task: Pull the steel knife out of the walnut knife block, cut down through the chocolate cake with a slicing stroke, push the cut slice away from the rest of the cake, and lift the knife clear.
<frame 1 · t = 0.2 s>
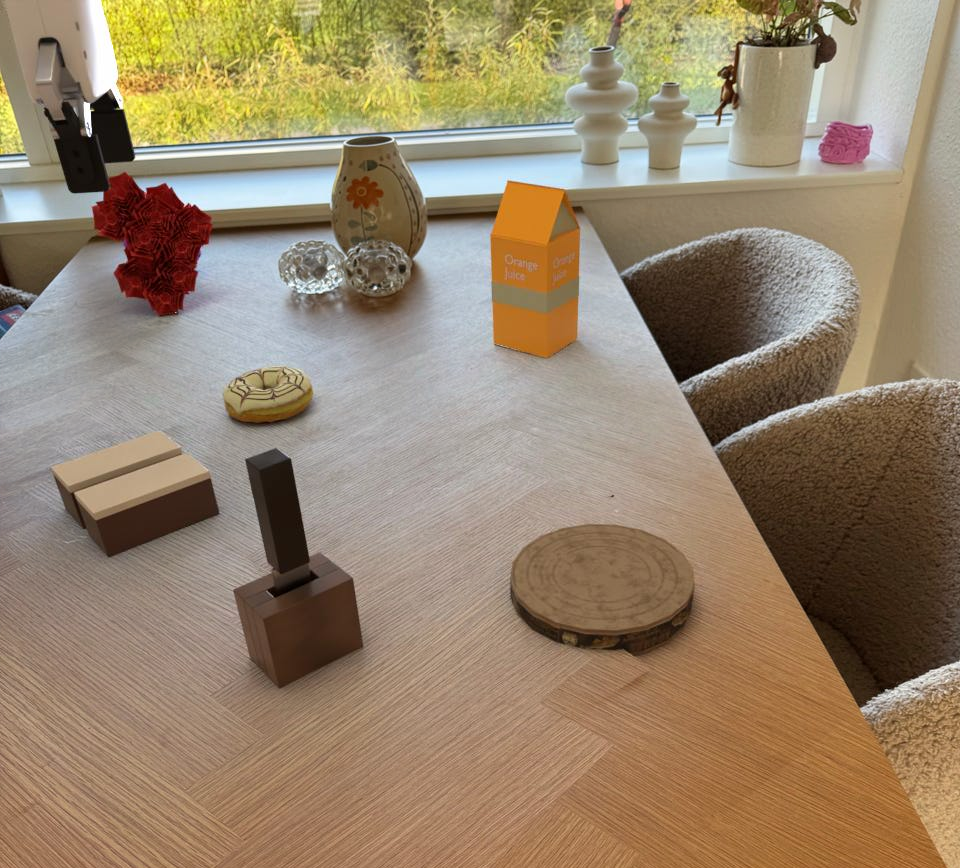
hand: (104, 175, 80), 32 cm above the table, tool pointing down, fingers open, 9 cm apart
bouquet: (164, 285, 154), on the table
cake: (129, 498, 102), on the table
wood slice coaster: (600, 602, 85), on the table
knife: (306, 651, 79), point 1 cm above the table, touching knife block
cake slice: (155, 524, 98), on the table
knife block: (308, 660, 80), on the table
orange juice: (535, 343, 130), on the table
decorated donut: (271, 409, 118), on the table
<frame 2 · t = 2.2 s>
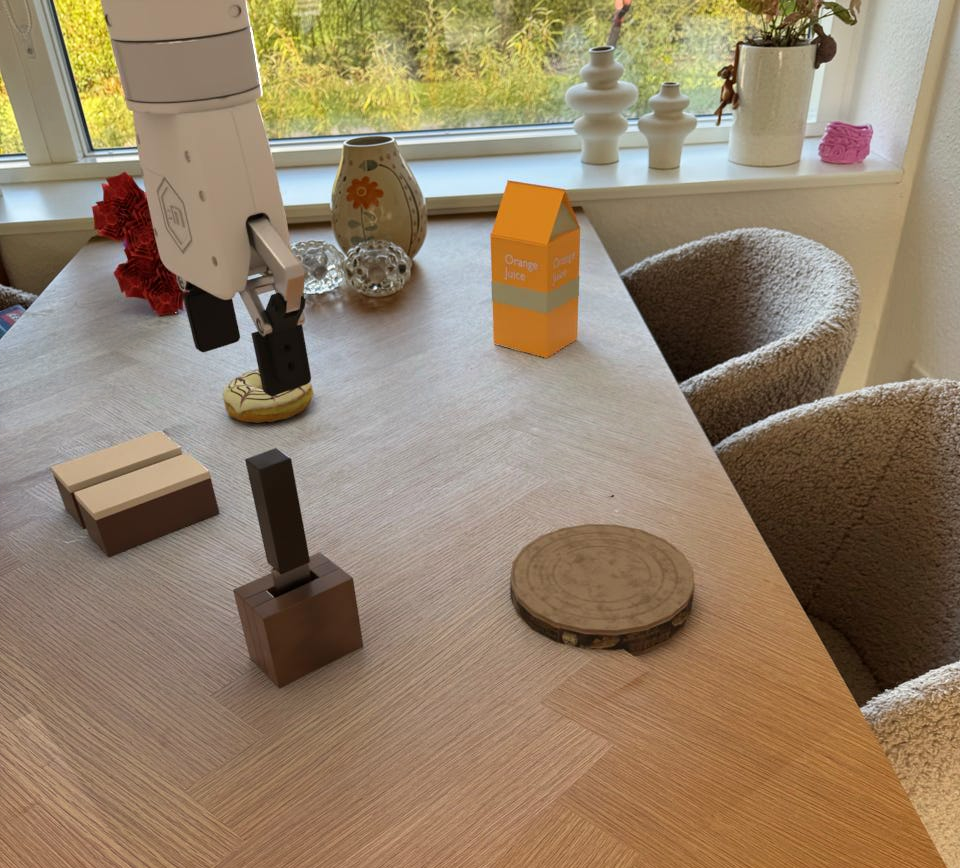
hand: (251, 366, 64), 26 cm above the table, tool pointing down, fingers open, 9 cm apart
nothing on the table moved.
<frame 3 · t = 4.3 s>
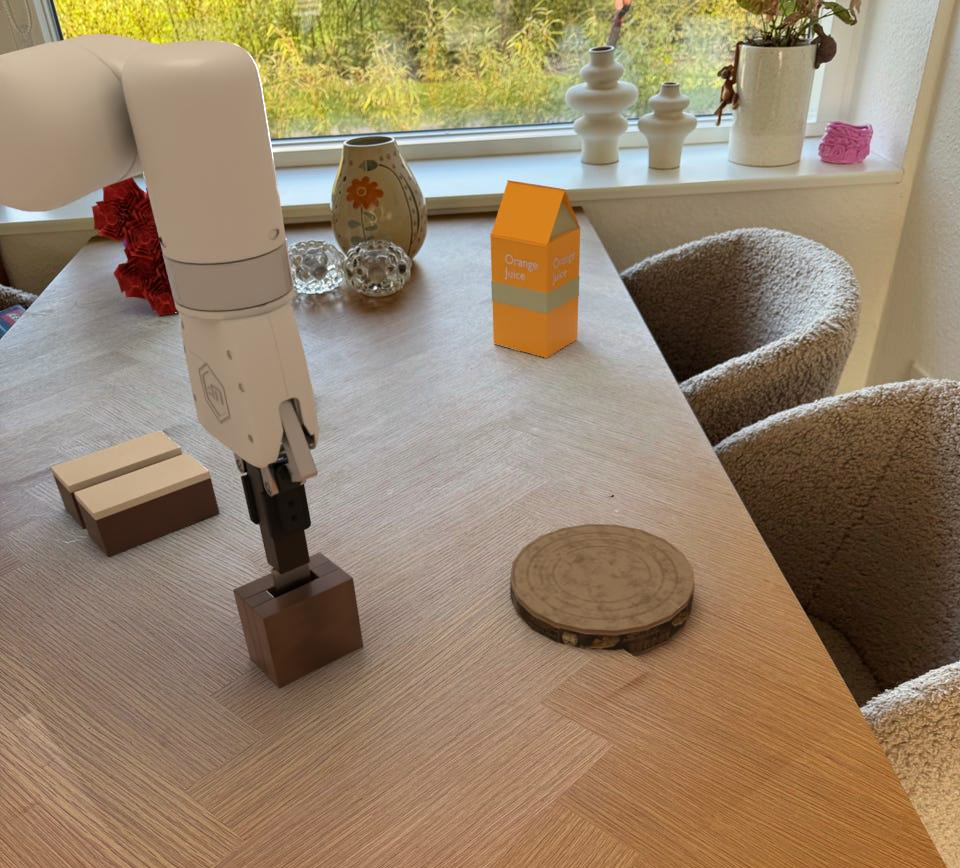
hand: (280, 523, 71), 14 cm above the table, tool pointing down, fingers closed on knife, 2 cm apart
knife: (306, 651, 79), point 1 cm above the table, touching gripper, knife block
everything else where it was.
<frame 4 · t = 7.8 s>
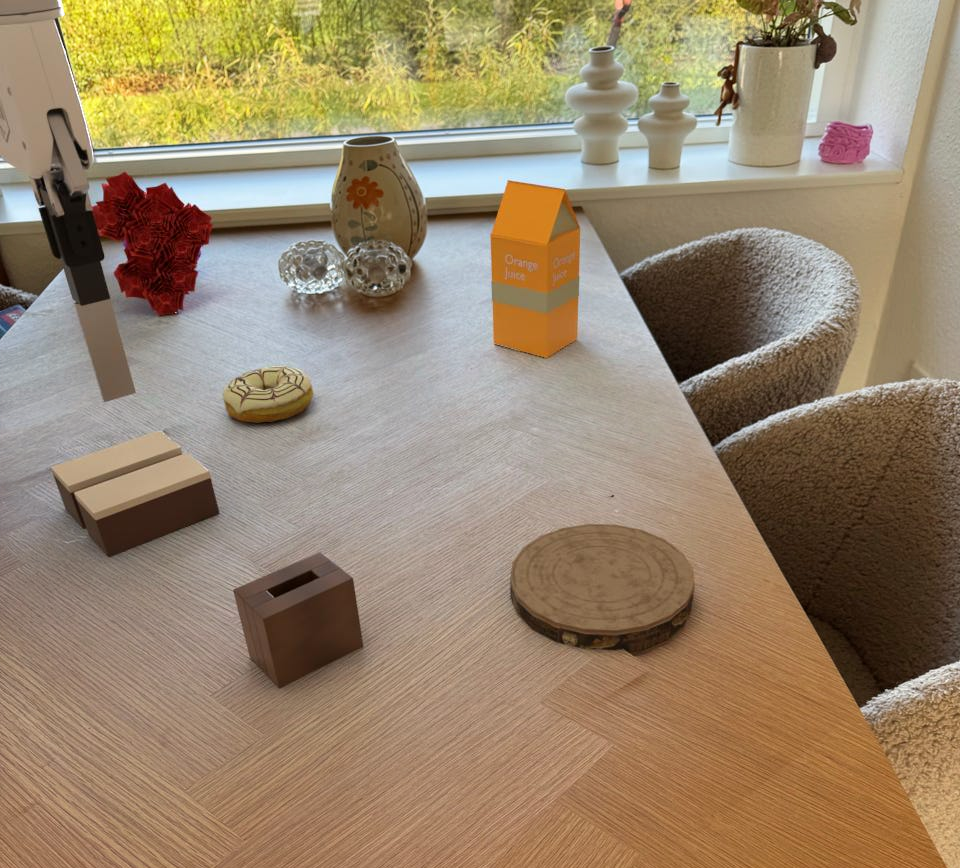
hand: (78, 257, 80), 27 cm above the table, tool pointing down, fingers closed on knife
knife: (119, 397, 88), point 14 cm above the table, touching gripper
everything else where it was.
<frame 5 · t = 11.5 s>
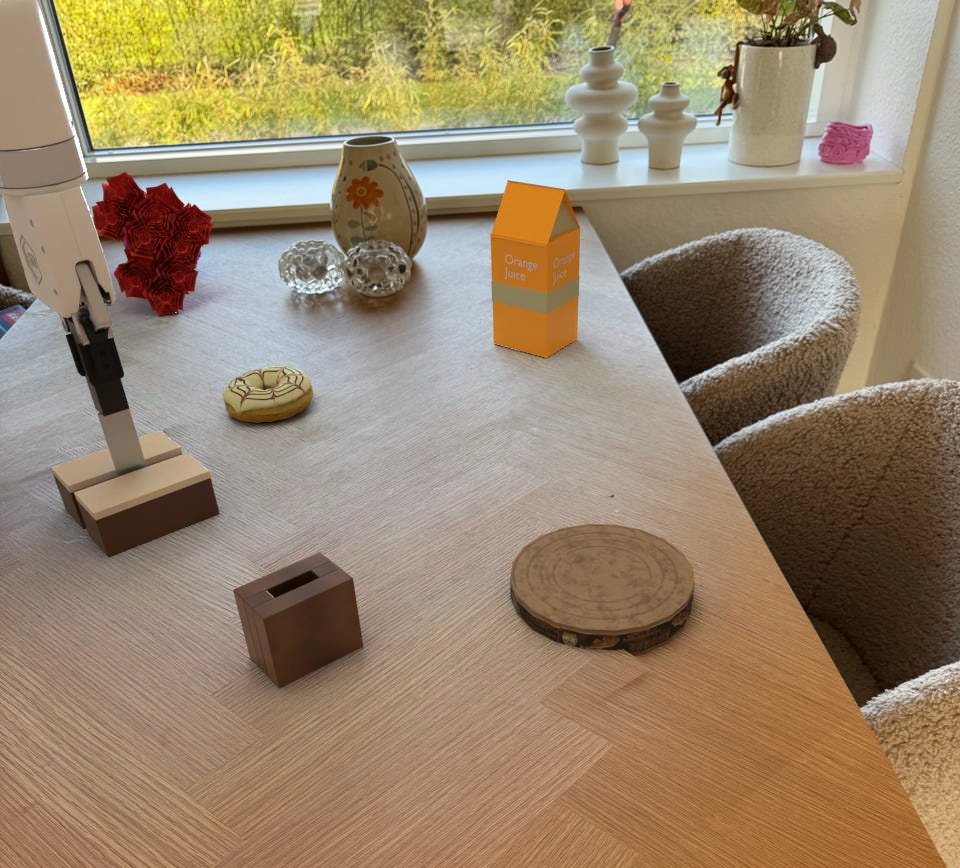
hand: (101, 374, 90), 15 cm above the table, tool pointing down, fingers closed on knife, 2 cm apart
knife: (138, 490, 98), point 2 cm above the table, touching gripper
everything else where it was.
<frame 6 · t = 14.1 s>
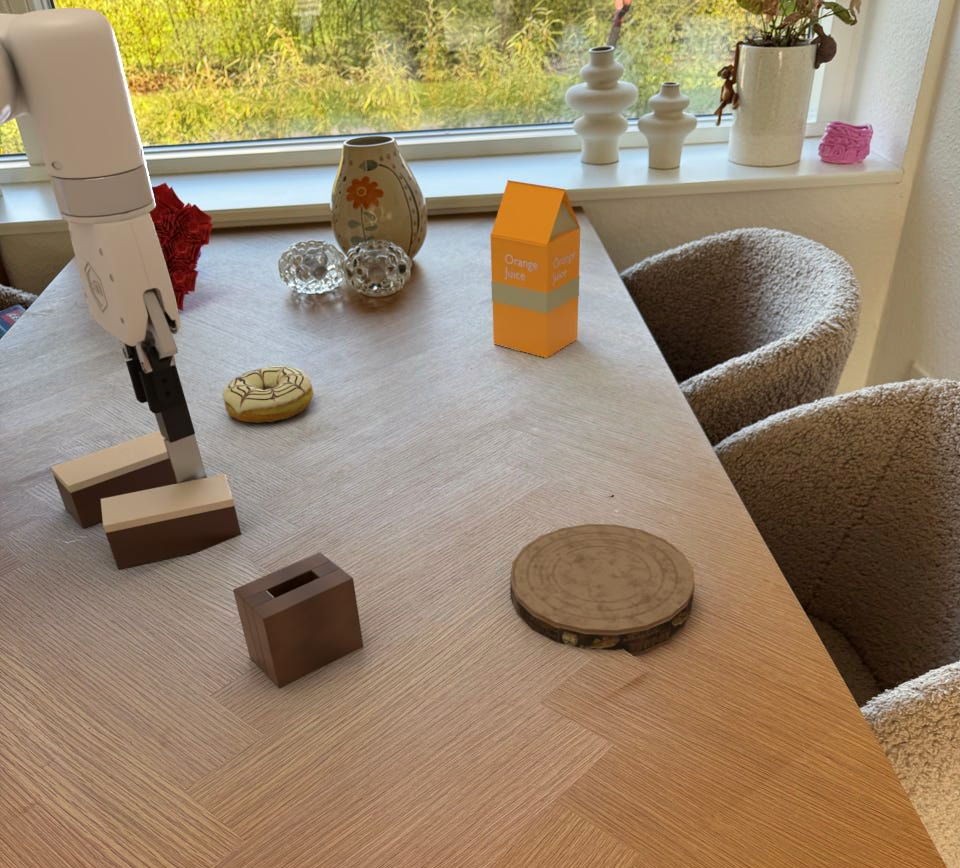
hand: (160, 401, 89), 13 cm above the table, tool pointing down, fingers closed on knife, 2 cm apart
knife: (202, 513, 97), point 1 cm above the table, touching cake slice, gripper
cake slice: (178, 542, 95), on the table, touching knife
everything else where it was.
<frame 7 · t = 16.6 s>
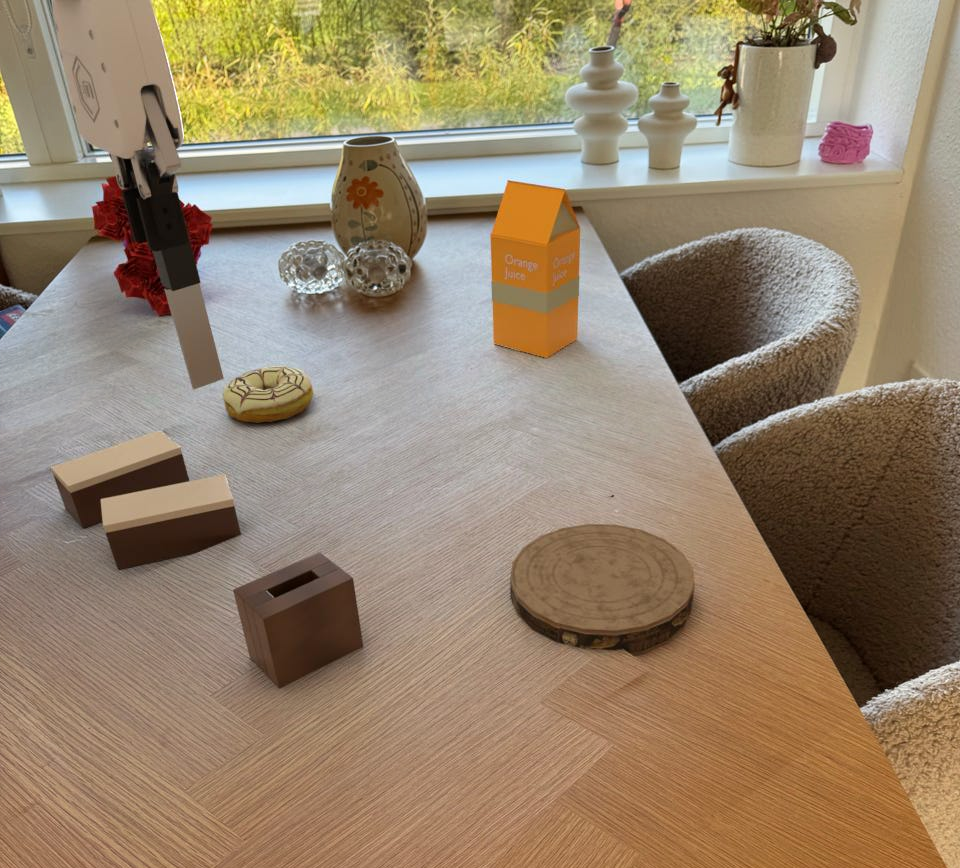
hand: (161, 241, 78), 28 cm above the table, tool pointing down, fingers closed on knife
knife: (208, 383, 86), point 16 cm above the table, touching gripper
cake slice: (178, 542, 95), on the table
everything else where it was.
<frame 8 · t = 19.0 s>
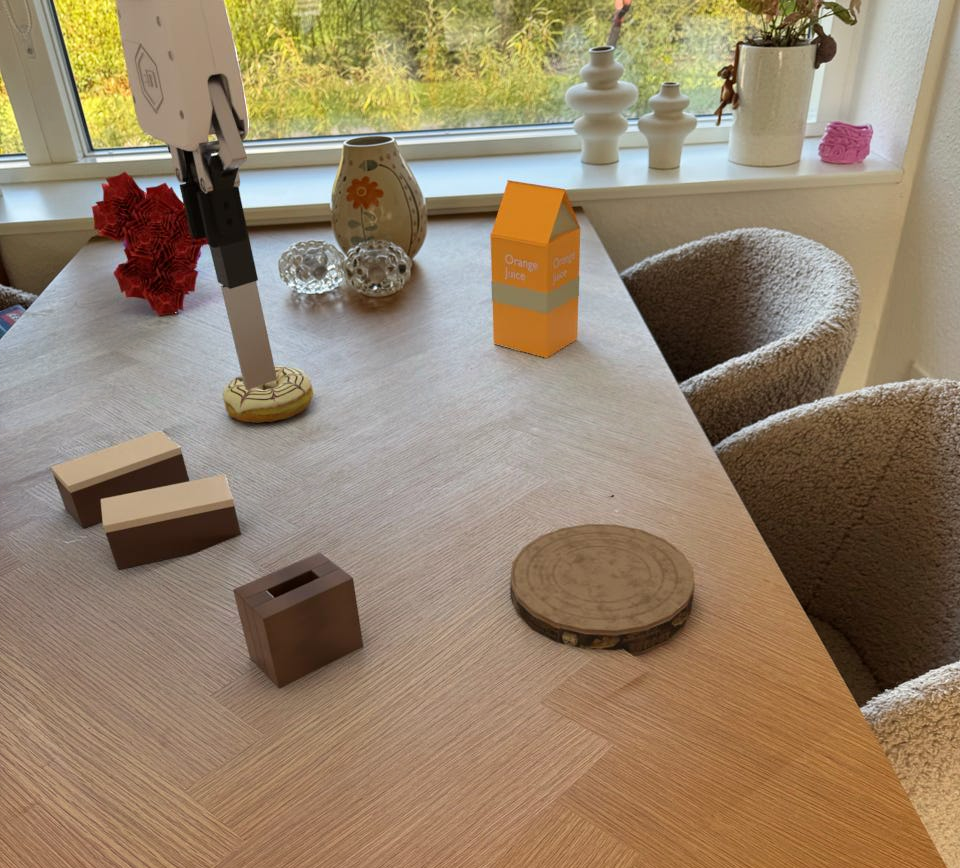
hand: (219, 237, 75), 29 cm above the table, tool pointing down, fingers closed on knife
knife: (261, 384, 84), point 16 cm above the table, touching gripper
everything else where it was.
at the end: cake slice moved 4.8 cm from its start; cake slice touching table; the gripper is holding knife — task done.
